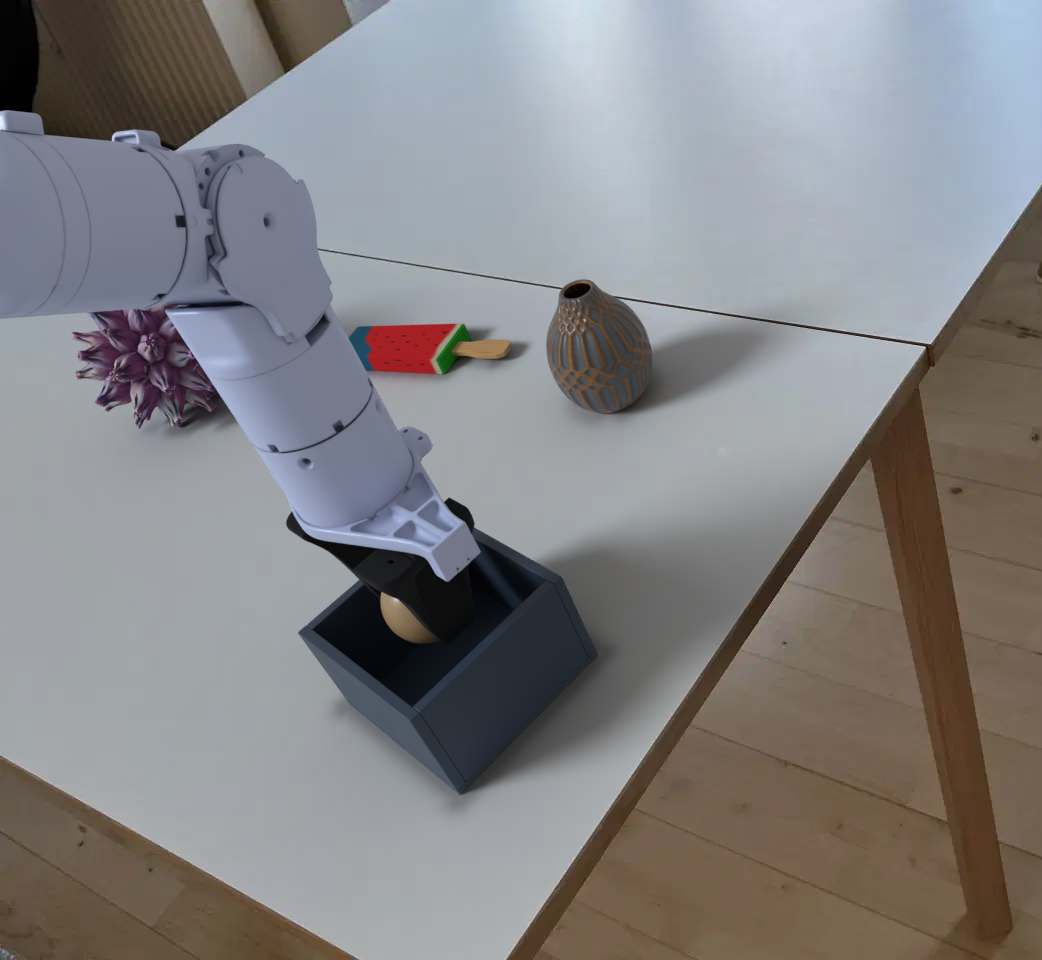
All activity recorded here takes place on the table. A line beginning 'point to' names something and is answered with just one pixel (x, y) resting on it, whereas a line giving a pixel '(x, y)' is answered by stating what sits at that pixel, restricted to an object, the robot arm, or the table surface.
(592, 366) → the vase
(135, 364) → the flower
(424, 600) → the robot arm
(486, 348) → the popsicle
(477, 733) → the bin
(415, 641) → the brown ball
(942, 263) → the table surface
